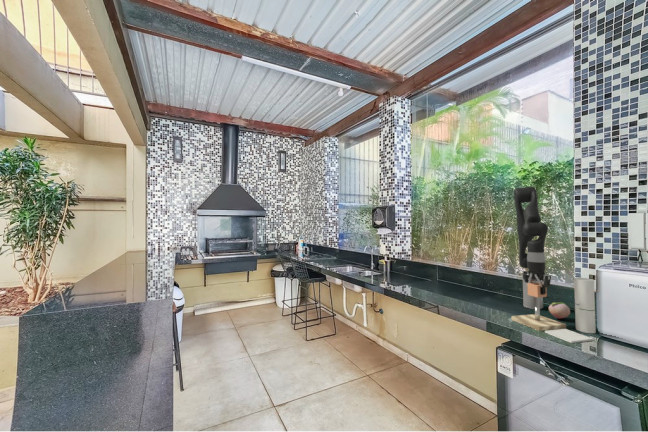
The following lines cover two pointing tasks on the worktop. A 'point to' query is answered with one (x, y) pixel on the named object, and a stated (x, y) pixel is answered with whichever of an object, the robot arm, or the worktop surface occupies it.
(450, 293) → the worktop surface
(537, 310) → the post
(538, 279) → the robot arm
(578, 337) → the pad
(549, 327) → the stand base
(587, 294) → the cylindrical container
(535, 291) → the collar
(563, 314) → the decorative fruit
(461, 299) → the worktop surface
